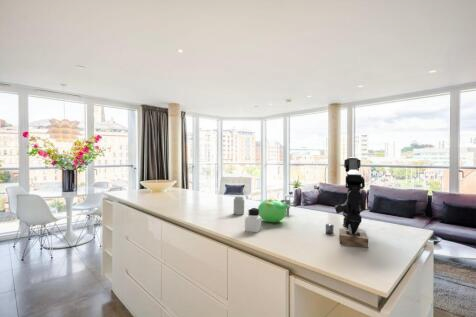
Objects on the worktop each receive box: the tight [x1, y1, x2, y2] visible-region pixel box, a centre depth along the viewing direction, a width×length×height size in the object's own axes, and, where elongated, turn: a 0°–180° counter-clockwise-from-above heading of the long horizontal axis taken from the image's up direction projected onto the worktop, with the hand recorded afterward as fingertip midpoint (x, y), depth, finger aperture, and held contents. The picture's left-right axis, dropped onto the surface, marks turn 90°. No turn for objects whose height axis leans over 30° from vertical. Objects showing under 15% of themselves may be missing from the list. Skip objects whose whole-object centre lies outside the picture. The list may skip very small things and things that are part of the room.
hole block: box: [338, 228, 369, 248], centre depth 118 cm, size 12×12×4 cm
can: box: [233, 196, 245, 216], centre depth 170 cm, size 8×8×12 cm
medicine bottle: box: [244, 207, 262, 233], centre depth 133 cm, size 7×7×12 cm
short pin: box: [325, 223, 335, 235], centre depth 130 cm, size 4×4×4 cm
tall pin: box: [348, 224, 359, 236], centre depth 118 cm, size 4×4×8 cm
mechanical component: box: [280, 199, 296, 215], centre depth 172 cm, size 3×10×10 cm, turn 78°
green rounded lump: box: [257, 197, 291, 223], centre depth 151 cm, size 18×17×15 cm
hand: (353, 231), depth 118 cm, fingers open, 9 cm apart
